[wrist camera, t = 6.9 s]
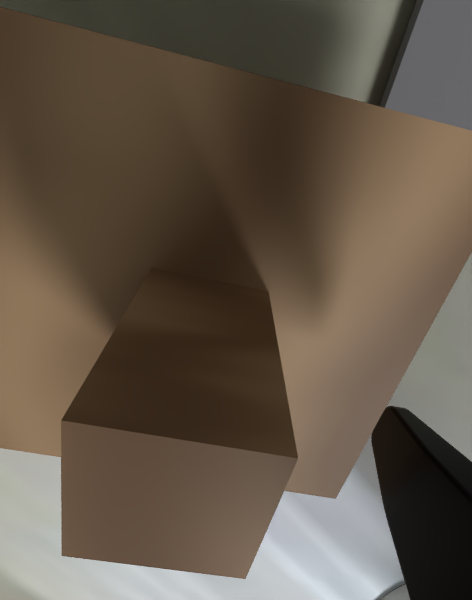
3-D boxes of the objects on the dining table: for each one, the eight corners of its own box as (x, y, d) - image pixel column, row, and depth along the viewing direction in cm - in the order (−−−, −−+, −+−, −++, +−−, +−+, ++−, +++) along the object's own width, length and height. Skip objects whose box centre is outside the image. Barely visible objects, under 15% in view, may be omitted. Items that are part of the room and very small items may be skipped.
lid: (498, 143, 8) (967, 183, 3) (329, 473, 14) (387, 701, 8) (-33, 4, 7) (-814, -333, 2) (8, 423, 13) (-163, 648, 7)
